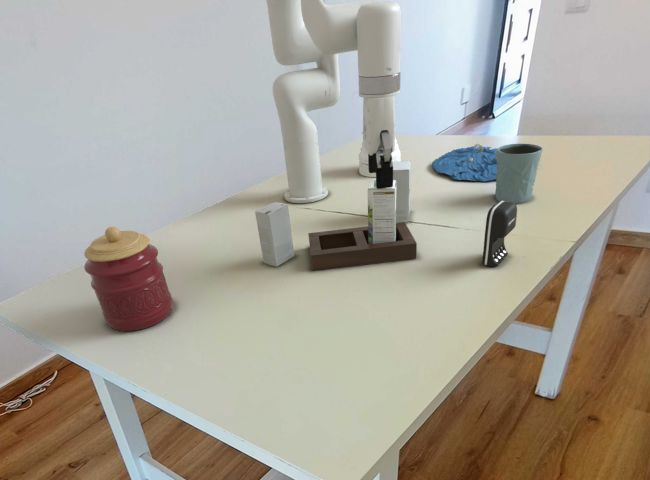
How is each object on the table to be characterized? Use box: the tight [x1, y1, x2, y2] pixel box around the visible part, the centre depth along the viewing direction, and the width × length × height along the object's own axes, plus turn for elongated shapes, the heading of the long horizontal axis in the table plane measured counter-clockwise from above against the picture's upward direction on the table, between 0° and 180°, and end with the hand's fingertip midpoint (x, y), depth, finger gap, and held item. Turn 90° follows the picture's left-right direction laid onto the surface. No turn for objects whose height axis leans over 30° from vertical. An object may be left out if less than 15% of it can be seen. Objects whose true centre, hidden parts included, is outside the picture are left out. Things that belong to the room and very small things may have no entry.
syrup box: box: [367, 179, 396, 244], centre depth 105 cm, size 6×6×14 cm
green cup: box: [494, 143, 543, 205], centre depth 123 cm, size 10×10×12 cm
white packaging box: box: [393, 160, 412, 223], centre depth 120 cm, size 7×7×13 cm
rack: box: [307, 222, 418, 272], centre depth 108 cm, size 12×22×4 cm, turn 93°
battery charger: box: [481, 201, 518, 267], centre depth 96 cm, size 7×4×11 cm, turn 142°
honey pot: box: [358, 129, 402, 178], centre depth 151 cm, size 13×13×18 cm
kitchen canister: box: [83, 226, 174, 332], centre depth 91 cm, size 13×13×18 cm
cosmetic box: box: [254, 201, 295, 267], centre depth 106 cm, size 6×4×12 cm
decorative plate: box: [431, 143, 498, 182], centre depth 148 cm, size 30×30×5 cm
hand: (380, 179), depth 100 cm, fingers open, 9 cm apart
